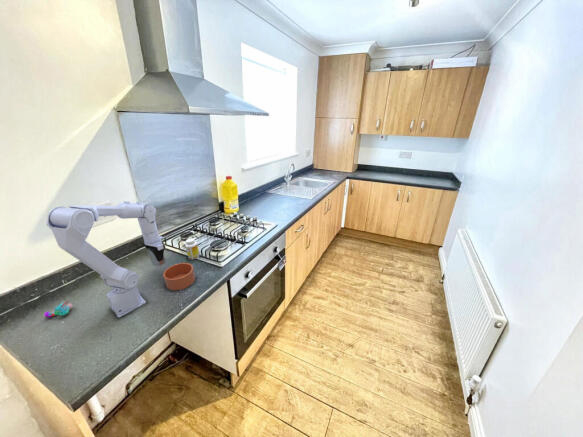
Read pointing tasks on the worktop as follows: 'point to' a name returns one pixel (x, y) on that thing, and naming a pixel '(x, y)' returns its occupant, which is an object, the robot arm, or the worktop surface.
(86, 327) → the worktop surface
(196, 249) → the supplement bottle
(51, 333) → the worktop surface
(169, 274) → the terracotta round bowl
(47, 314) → the multicoloured toy
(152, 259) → the steel cup
